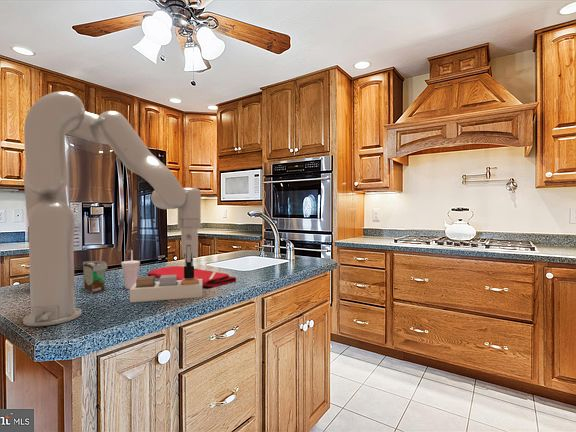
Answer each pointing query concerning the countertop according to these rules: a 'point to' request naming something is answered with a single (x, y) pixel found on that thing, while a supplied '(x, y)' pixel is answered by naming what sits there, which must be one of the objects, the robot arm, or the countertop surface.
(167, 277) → the grey key
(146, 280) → the walnut key
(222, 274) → the red folded towel
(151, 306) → the countertop surface
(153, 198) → the robot arm
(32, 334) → the countertop surface
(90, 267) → the food container
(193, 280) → the orange key
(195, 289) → the keypad
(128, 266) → the smoothie
